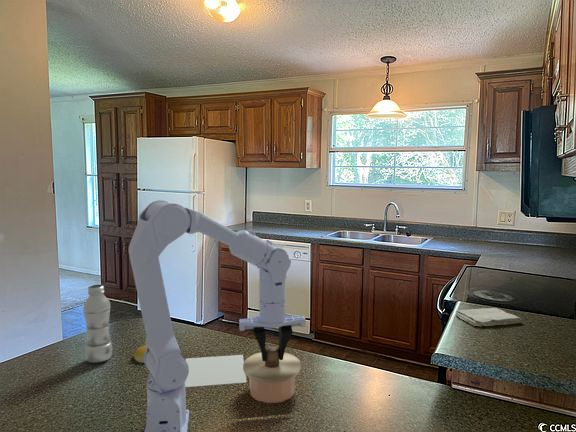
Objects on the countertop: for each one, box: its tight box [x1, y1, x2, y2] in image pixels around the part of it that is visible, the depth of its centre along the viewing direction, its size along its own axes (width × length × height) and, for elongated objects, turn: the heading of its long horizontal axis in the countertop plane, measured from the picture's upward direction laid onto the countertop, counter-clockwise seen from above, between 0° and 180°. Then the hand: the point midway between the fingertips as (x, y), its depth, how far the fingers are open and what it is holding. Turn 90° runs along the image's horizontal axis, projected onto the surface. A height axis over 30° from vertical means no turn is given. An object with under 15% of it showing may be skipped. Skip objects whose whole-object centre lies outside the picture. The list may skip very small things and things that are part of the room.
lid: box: [243, 346, 302, 383], centre depth 95 cm, size 13×13×4 cm
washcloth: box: [455, 307, 523, 323], centre depth 143 cm, size 12×18×3 cm, turn 104°
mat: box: [185, 354, 247, 388], centre depth 105 cm, size 15×15×1 cm
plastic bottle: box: [83, 283, 113, 364], centre depth 110 cm, size 6×7×20 cm
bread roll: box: [133, 343, 146, 364], centre depth 113 cm, size 8×9×4 cm
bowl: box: [249, 377, 296, 404], centre depth 95 cm, size 10×10×5 cm
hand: (272, 358), depth 95 cm, fingers closed on lid, 3 cm apart
